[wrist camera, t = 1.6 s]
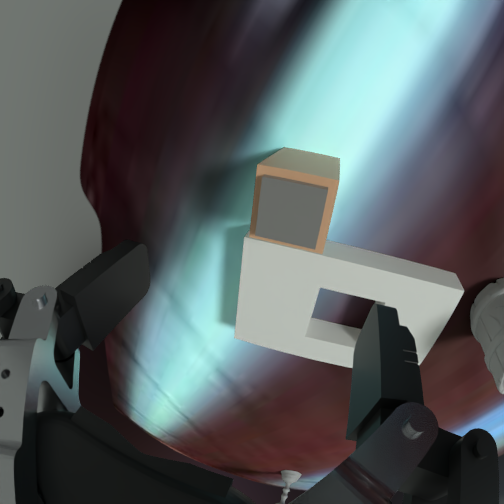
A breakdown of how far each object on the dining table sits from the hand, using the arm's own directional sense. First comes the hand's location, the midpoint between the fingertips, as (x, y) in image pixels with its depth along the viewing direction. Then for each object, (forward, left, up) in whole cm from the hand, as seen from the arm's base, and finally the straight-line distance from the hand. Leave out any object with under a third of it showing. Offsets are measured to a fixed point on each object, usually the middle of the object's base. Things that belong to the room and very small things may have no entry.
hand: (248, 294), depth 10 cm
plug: (0, 0, -16) cm, 16 cm away
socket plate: (+11, +6, -16) cm, 20 cm away
